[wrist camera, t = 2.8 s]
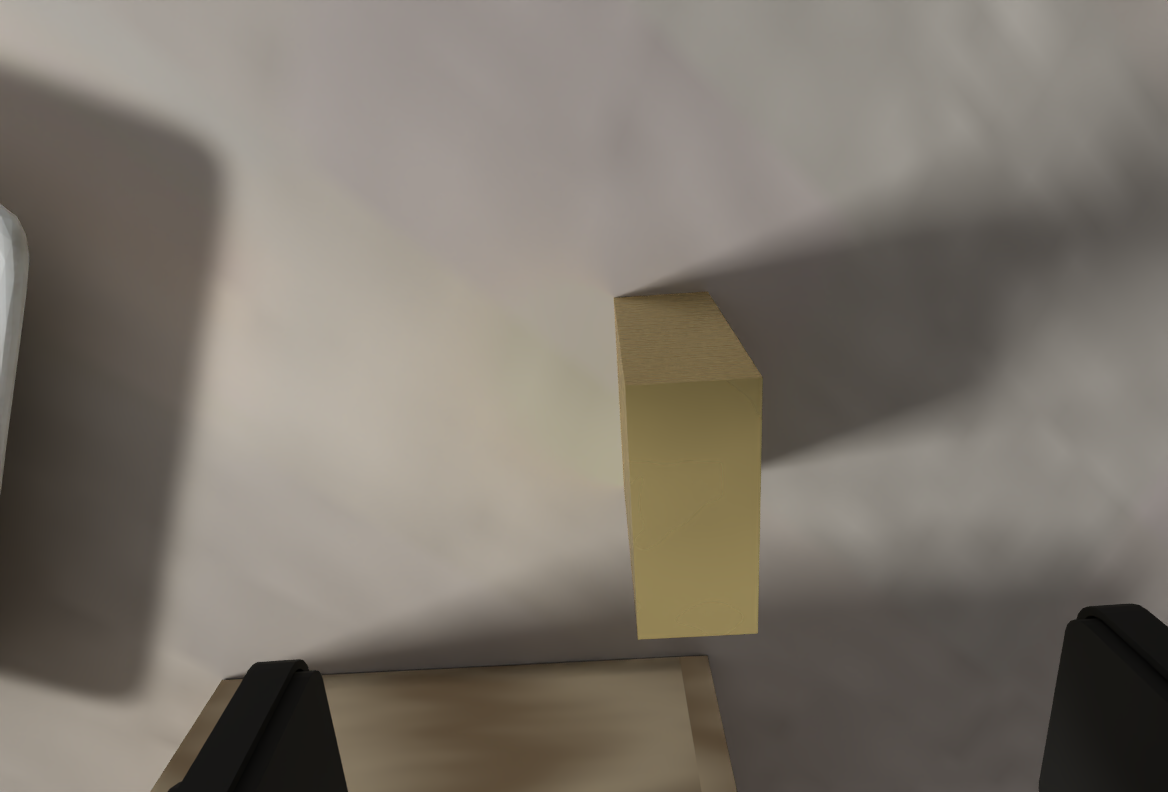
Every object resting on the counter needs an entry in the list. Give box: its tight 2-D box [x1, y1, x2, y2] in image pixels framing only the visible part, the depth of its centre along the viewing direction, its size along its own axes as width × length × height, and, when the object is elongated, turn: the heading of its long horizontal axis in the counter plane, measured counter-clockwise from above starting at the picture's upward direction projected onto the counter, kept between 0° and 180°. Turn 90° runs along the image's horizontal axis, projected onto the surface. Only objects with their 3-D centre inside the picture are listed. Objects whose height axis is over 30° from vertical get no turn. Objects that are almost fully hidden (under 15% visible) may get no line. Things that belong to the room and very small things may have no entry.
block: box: [614, 292, 763, 640], centre depth 16 cm, size 2×5×6 cm, turn 4°
